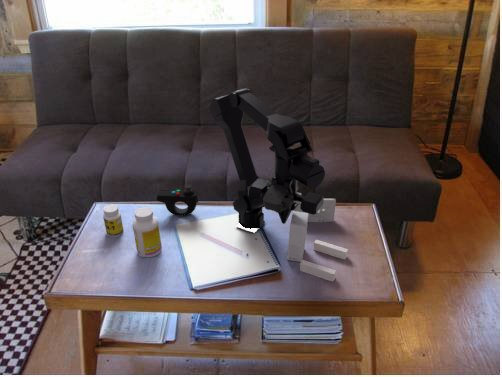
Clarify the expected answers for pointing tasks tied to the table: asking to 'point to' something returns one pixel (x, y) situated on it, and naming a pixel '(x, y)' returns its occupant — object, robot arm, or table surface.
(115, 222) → the supplement bottle
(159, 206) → the table surface
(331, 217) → the cassette
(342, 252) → the u rest
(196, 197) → the controller
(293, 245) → the skincare box
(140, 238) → the supplement bottle
